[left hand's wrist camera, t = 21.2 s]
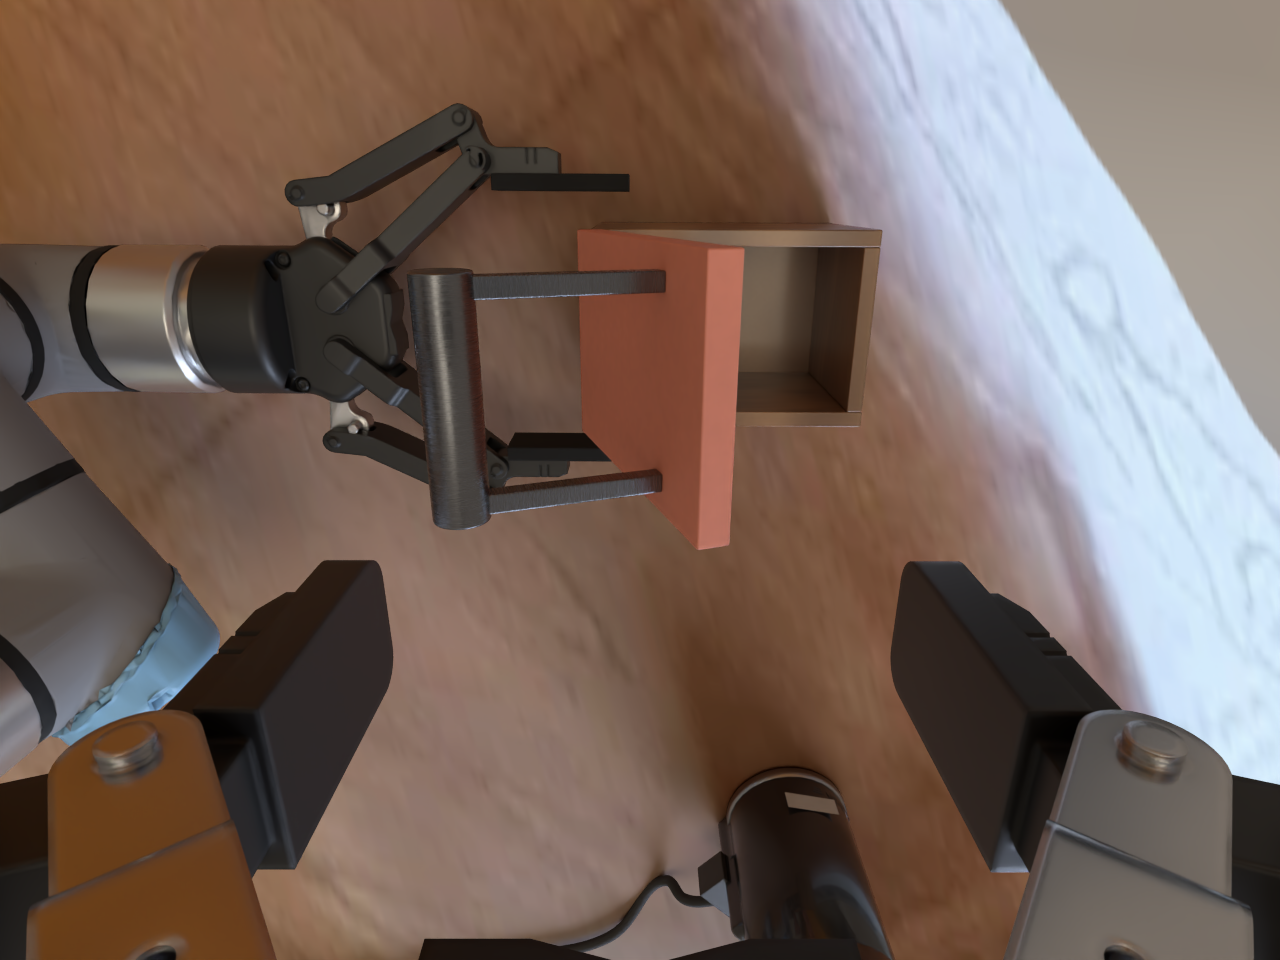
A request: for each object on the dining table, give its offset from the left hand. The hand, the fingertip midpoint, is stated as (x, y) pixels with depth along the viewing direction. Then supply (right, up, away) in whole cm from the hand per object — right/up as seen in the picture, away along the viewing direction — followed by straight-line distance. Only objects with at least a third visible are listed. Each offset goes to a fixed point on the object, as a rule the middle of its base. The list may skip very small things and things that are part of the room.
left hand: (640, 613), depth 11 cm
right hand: (0, +10, +27) cm, 29 cm away
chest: (+4, +13, +33) cm, 36 cm away
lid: (+1, +7, +18) cm, 19 cm away
